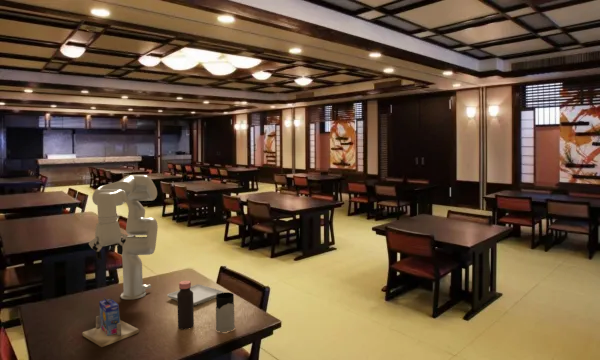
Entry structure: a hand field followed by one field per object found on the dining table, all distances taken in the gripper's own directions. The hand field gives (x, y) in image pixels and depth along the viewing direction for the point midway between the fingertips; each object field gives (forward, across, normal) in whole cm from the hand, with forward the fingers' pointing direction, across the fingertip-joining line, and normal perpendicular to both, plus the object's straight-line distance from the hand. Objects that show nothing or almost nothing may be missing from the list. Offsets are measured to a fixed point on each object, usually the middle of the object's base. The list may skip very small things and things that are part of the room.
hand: (109, 256), depth 183 cm
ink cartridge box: (+28, +9, +14) cm, 32 cm away
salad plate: (+31, -39, +10) cm, 51 cm away
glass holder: (+29, -25, +46) cm, 60 cm away
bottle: (+29, -15, +33) cm, 47 cm away
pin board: (+29, +9, +14) cm, 33 cm away
